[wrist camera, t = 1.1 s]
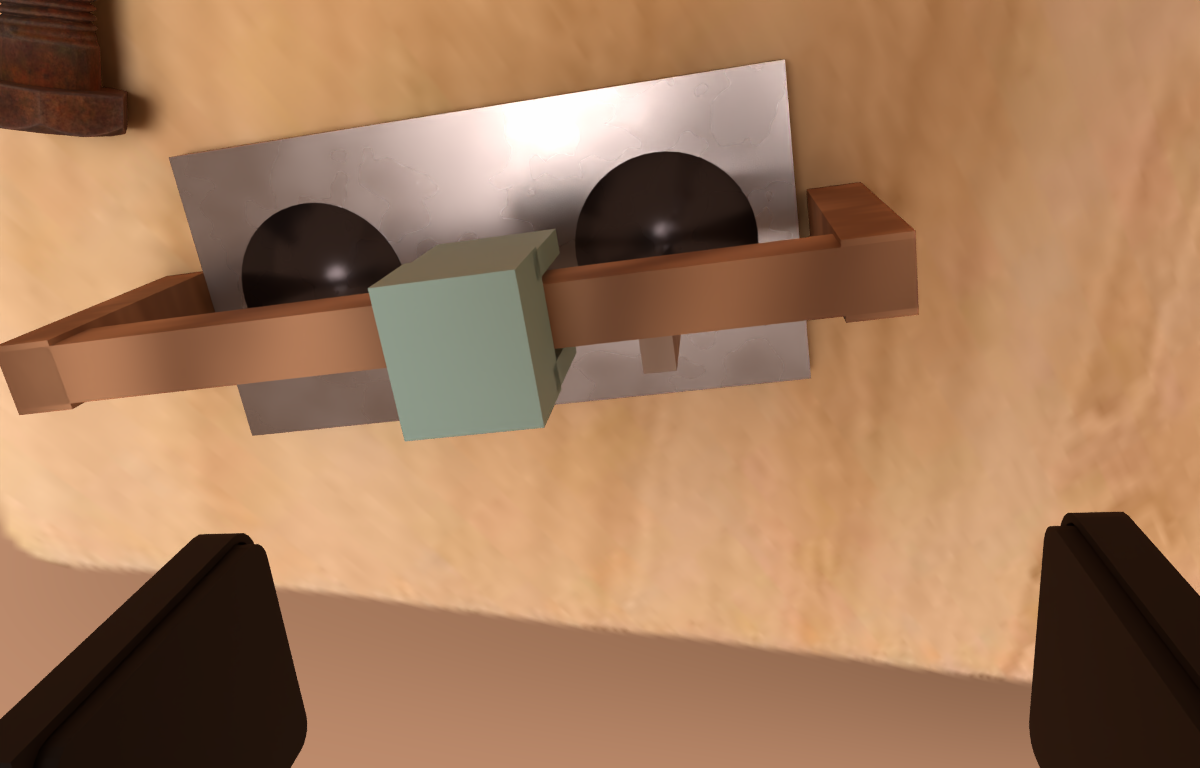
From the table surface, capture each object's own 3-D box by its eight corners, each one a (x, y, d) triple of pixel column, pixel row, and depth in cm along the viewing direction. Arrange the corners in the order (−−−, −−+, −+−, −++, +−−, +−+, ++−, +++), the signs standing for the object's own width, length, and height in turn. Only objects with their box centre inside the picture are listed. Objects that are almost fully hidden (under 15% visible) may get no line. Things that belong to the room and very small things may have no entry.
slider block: (578, 200, 34) (514, 269, 23) (596, 312, 35) (544, 427, 25) (475, 214, 35) (367, 288, 24) (497, 324, 36) (404, 441, 25)
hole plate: (782, 59, 33) (784, 59, 32) (808, 368, 37) (811, 378, 36) (185, 154, 37) (167, 157, 36) (264, 425, 41) (251, 436, 40)
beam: (860, 182, 34) (915, 230, 25) (865, 267, 35) (920, 344, 26) (165, 276, 39) (-8, 347, 30) (188, 349, 40) (28, 439, 31)
